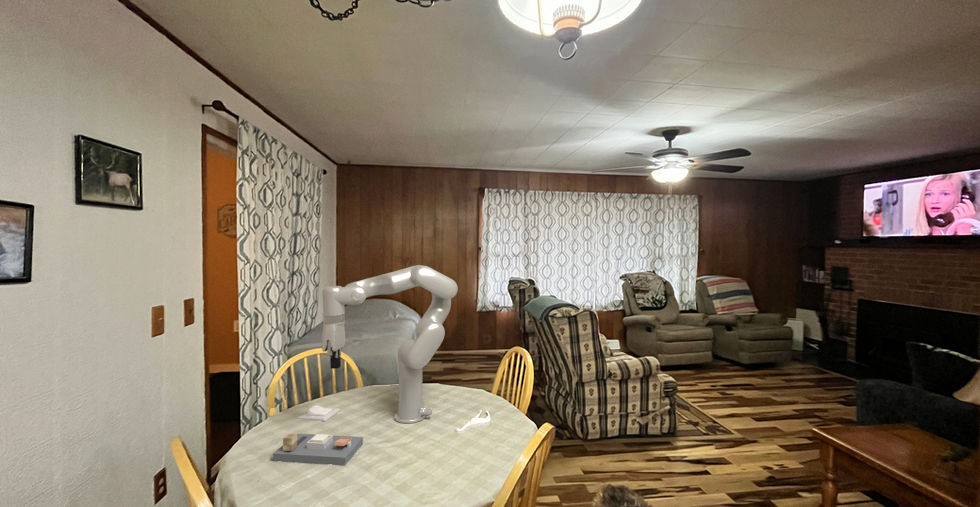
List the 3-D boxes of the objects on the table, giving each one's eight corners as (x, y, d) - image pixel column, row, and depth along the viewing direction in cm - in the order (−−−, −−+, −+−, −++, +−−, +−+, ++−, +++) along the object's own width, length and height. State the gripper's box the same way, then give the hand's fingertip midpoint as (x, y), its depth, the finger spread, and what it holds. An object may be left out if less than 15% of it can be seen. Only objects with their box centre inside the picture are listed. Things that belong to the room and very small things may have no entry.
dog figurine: (462, 408, 168) (452, 429, 148) (493, 410, 166) (487, 432, 146) (462, 413, 168) (452, 434, 148) (492, 415, 166) (486, 437, 146)
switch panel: (362, 444, 138) (363, 431, 138) (344, 465, 124) (345, 451, 124) (297, 440, 140) (297, 427, 140) (272, 461, 126) (272, 447, 126)
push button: (328, 441, 134) (328, 434, 134) (322, 447, 130) (322, 440, 130) (317, 441, 135) (317, 434, 135) (311, 446, 131) (311, 439, 131)
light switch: (313, 401, 169) (340, 402, 167) (313, 411, 169) (340, 412, 167) (296, 411, 159) (324, 412, 156) (296, 422, 159) (325, 423, 156)
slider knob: (297, 446, 130) (297, 434, 130) (291, 450, 127) (292, 438, 127) (288, 445, 131) (288, 433, 131) (283, 450, 128) (283, 438, 128)
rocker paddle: (351, 442, 134) (351, 436, 135) (343, 447, 129) (344, 441, 129) (342, 442, 135) (342, 436, 135) (334, 446, 129) (334, 440, 129)
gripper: (333, 315, 155) (334, 362, 156) (314, 323, 140) (316, 374, 141) (352, 315, 155) (353, 361, 155) (335, 323, 140) (336, 374, 140)
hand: (335, 367), depth 148 cm, fingers closed
